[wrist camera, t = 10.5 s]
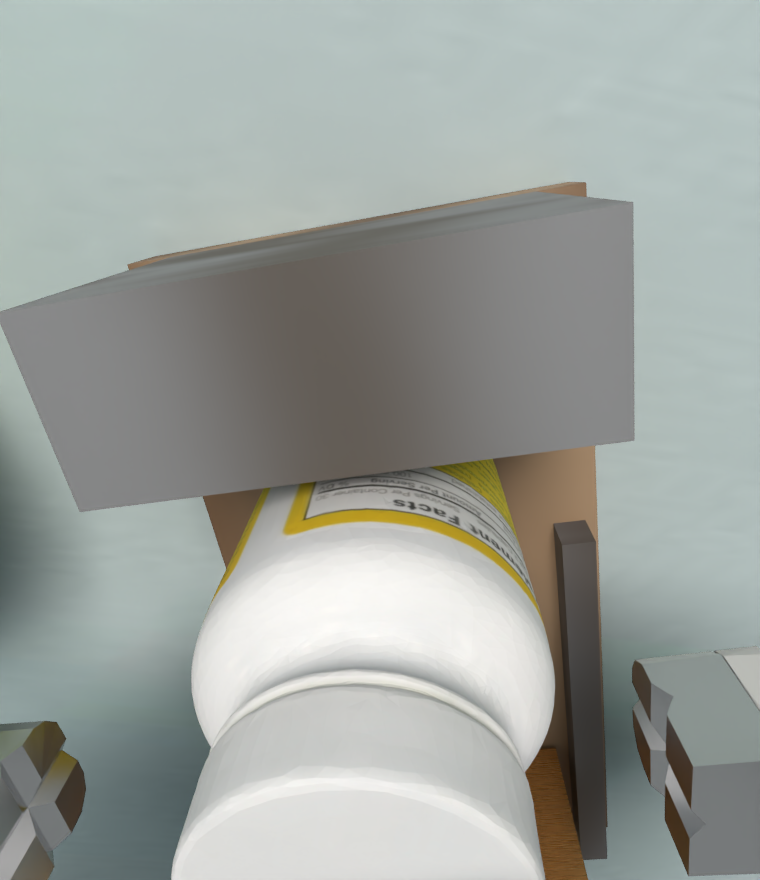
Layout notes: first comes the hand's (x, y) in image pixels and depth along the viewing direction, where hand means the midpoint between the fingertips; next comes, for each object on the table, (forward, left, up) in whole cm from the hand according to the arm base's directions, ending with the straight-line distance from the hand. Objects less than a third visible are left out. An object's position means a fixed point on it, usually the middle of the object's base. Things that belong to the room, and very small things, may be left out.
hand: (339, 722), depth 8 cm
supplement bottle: (0, 0, -8) cm, 8 cm away
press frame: (+1, -4, -9) cm, 10 cm away
